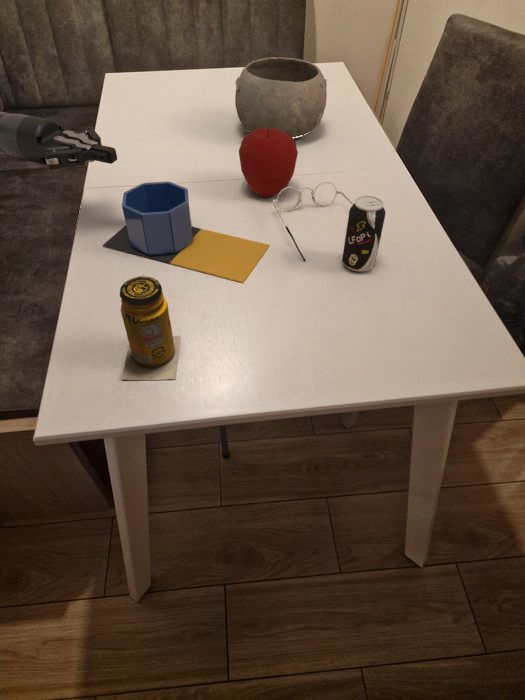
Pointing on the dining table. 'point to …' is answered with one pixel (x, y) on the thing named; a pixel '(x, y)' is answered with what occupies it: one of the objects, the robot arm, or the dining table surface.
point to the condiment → (148, 331)
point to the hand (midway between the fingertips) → (114, 156)
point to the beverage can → (363, 233)
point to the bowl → (281, 95)
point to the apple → (267, 160)
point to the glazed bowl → (158, 217)
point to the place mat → (204, 253)
